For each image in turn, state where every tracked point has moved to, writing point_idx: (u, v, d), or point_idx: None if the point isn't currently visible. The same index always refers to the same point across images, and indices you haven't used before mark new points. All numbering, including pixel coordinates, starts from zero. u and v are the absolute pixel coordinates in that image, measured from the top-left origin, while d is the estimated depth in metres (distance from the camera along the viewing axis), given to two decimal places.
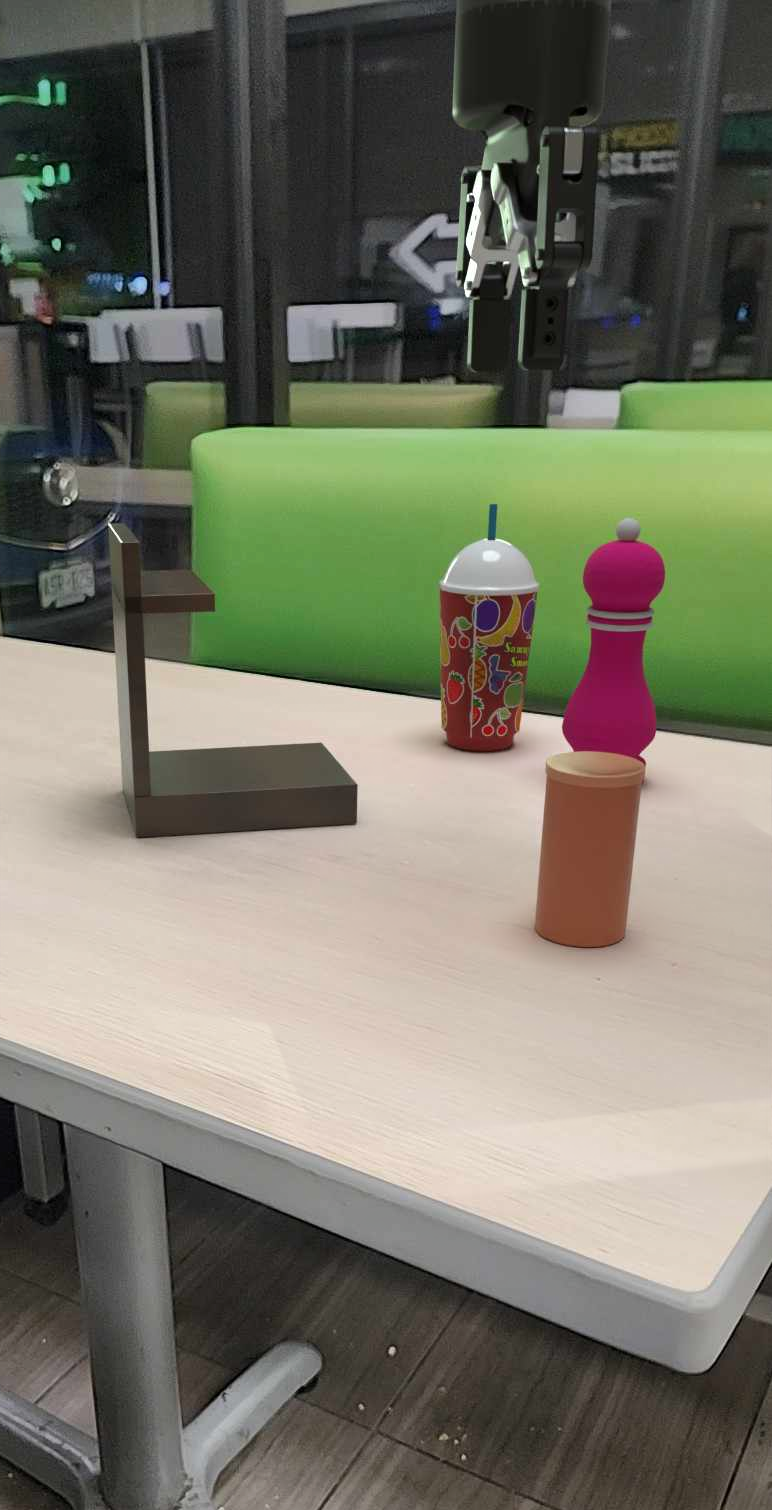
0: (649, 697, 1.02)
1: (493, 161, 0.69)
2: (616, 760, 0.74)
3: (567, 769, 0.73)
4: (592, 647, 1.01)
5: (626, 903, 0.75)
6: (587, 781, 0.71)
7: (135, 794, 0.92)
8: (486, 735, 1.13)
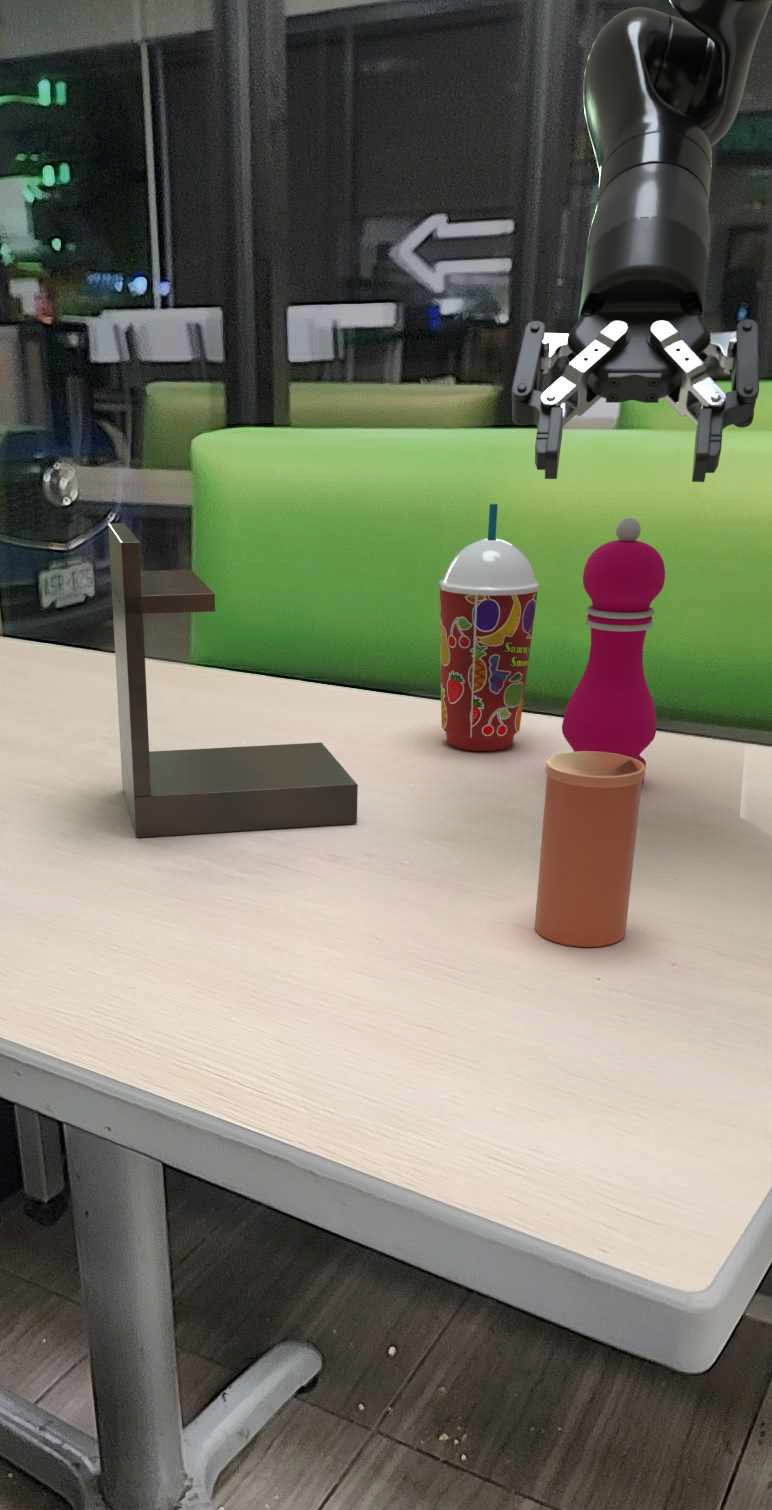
0: (649, 697, 1.02)
1: None
2: (616, 760, 0.74)
3: (567, 769, 0.73)
4: (592, 647, 1.01)
5: (626, 903, 0.75)
6: (587, 781, 0.71)
7: (135, 794, 0.92)
8: (486, 735, 1.13)
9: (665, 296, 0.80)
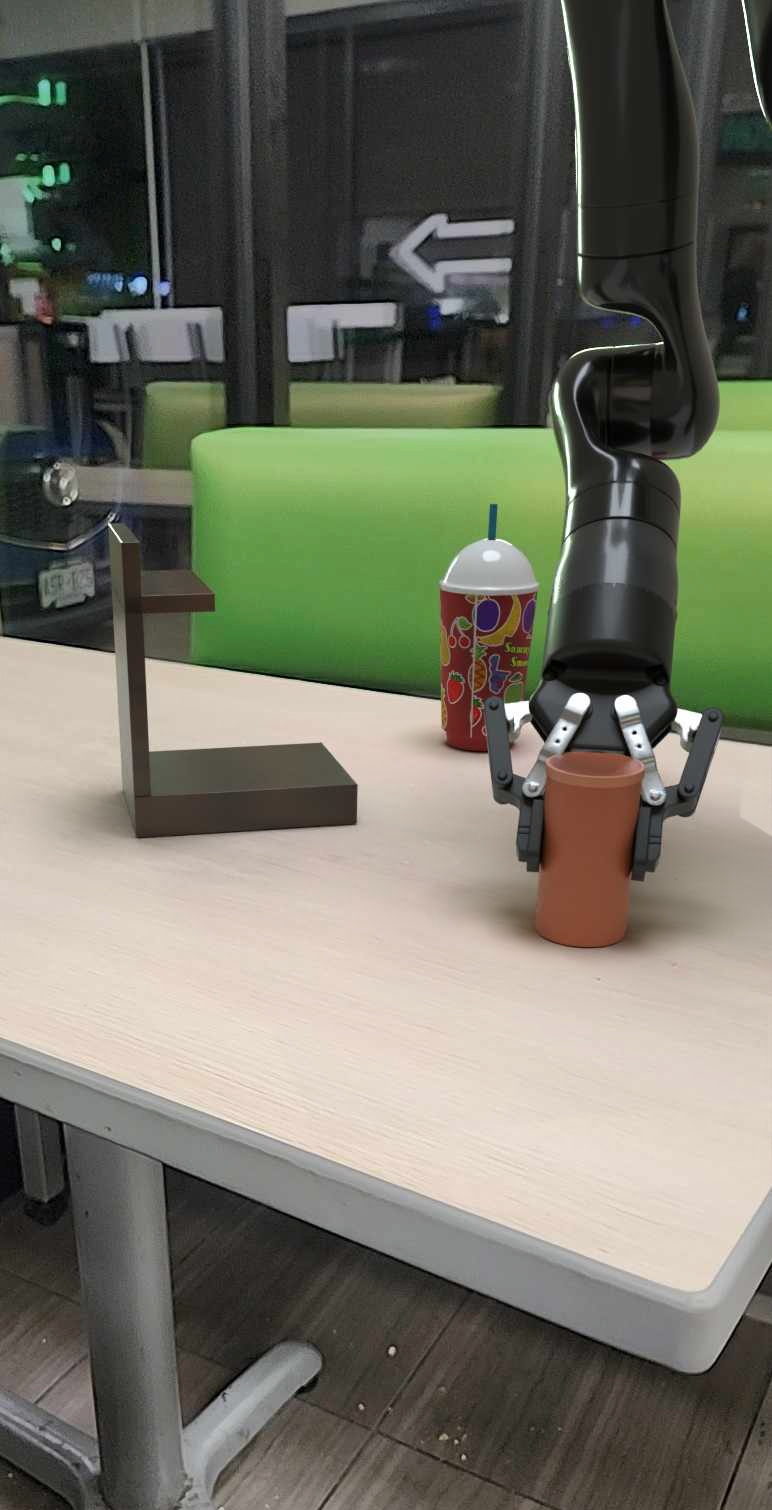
0: None
1: None
2: (616, 760, 0.74)
3: (567, 769, 0.73)
4: None
5: (626, 903, 0.75)
6: (586, 781, 0.71)
7: (135, 794, 0.92)
8: None
9: (630, 666, 0.76)
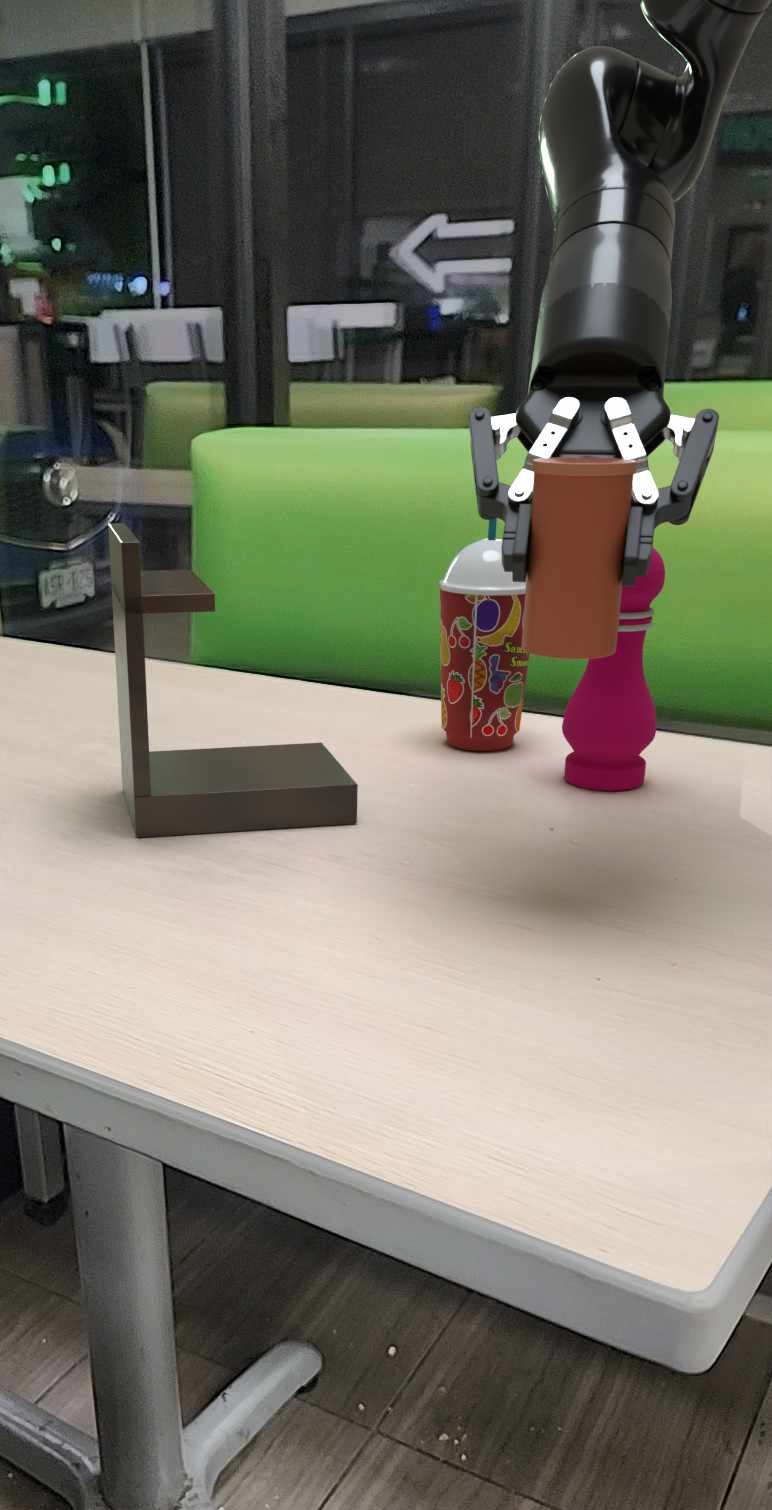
0: (649, 697, 1.02)
1: None
2: (606, 459, 0.71)
3: (555, 461, 0.69)
4: None
5: (616, 614, 0.72)
6: (575, 469, 0.68)
7: (135, 794, 0.92)
8: (486, 735, 1.13)
9: (621, 370, 0.73)
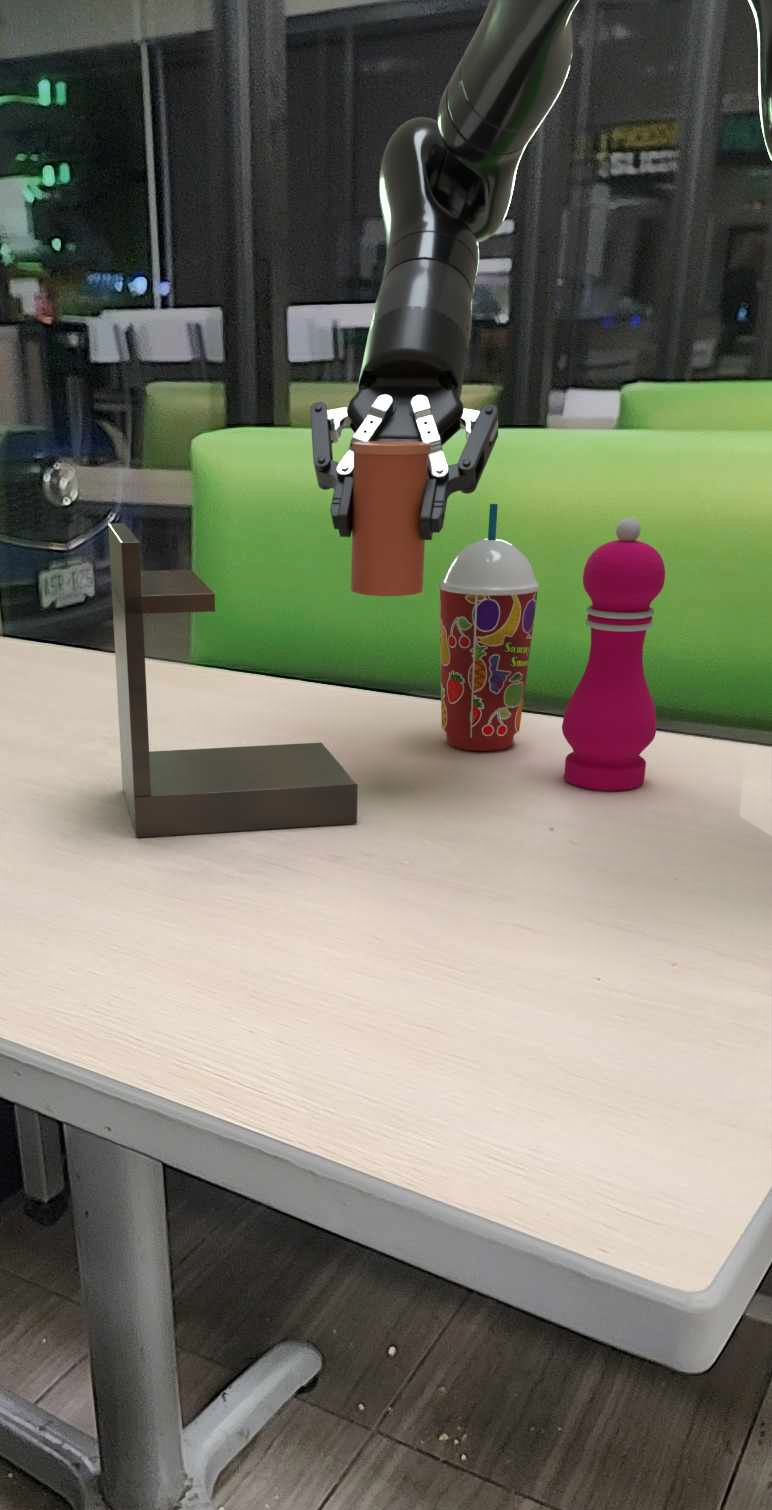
0: (649, 697, 1.02)
1: None
2: (409, 442, 0.93)
3: (367, 443, 0.91)
4: (592, 647, 1.01)
5: (419, 561, 0.94)
6: (379, 449, 0.90)
7: (135, 794, 0.92)
8: (486, 735, 1.13)
9: (425, 374, 0.95)
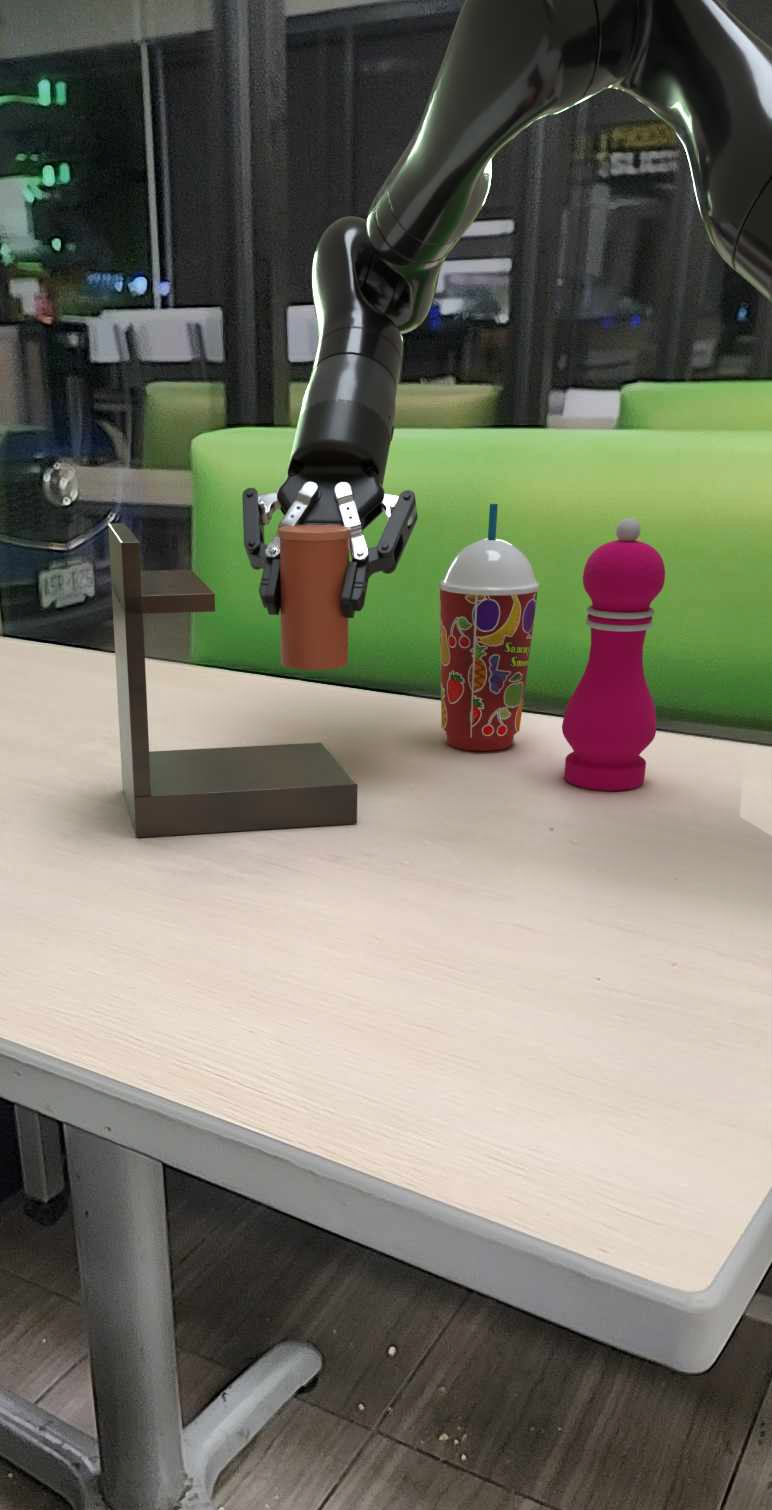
0: (649, 697, 1.02)
1: None
2: (332, 527, 0.99)
3: (291, 530, 0.98)
4: (592, 647, 1.01)
5: (343, 637, 1.00)
6: (301, 536, 0.96)
7: (135, 794, 0.92)
8: (486, 735, 1.13)
9: (348, 462, 1.01)
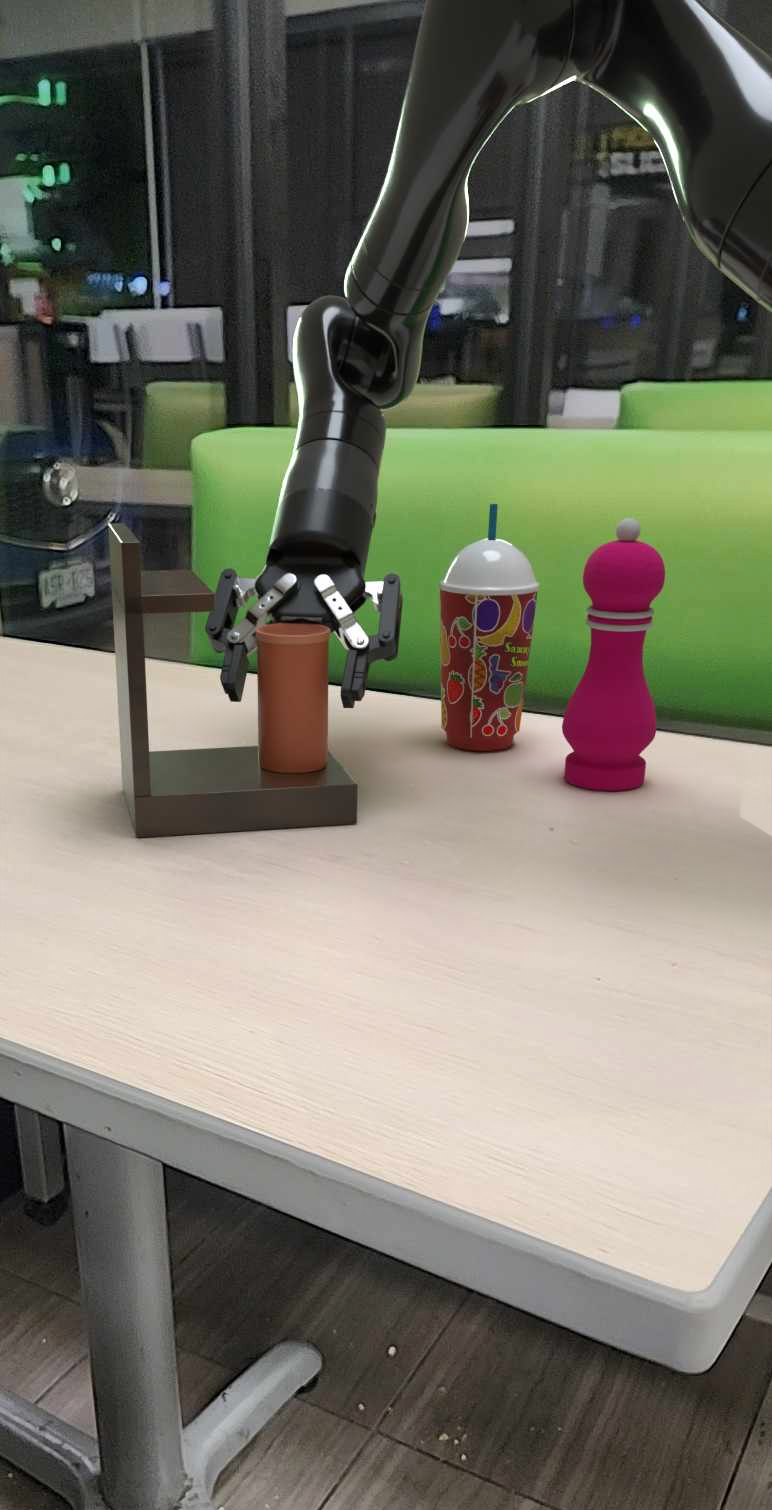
0: (649, 697, 1.02)
1: None
2: (311, 627, 0.96)
3: (268, 631, 0.95)
4: (592, 647, 1.01)
5: (322, 739, 0.97)
6: (279, 639, 0.93)
7: (135, 794, 0.92)
8: (486, 735, 1.13)
9: (329, 553, 0.98)
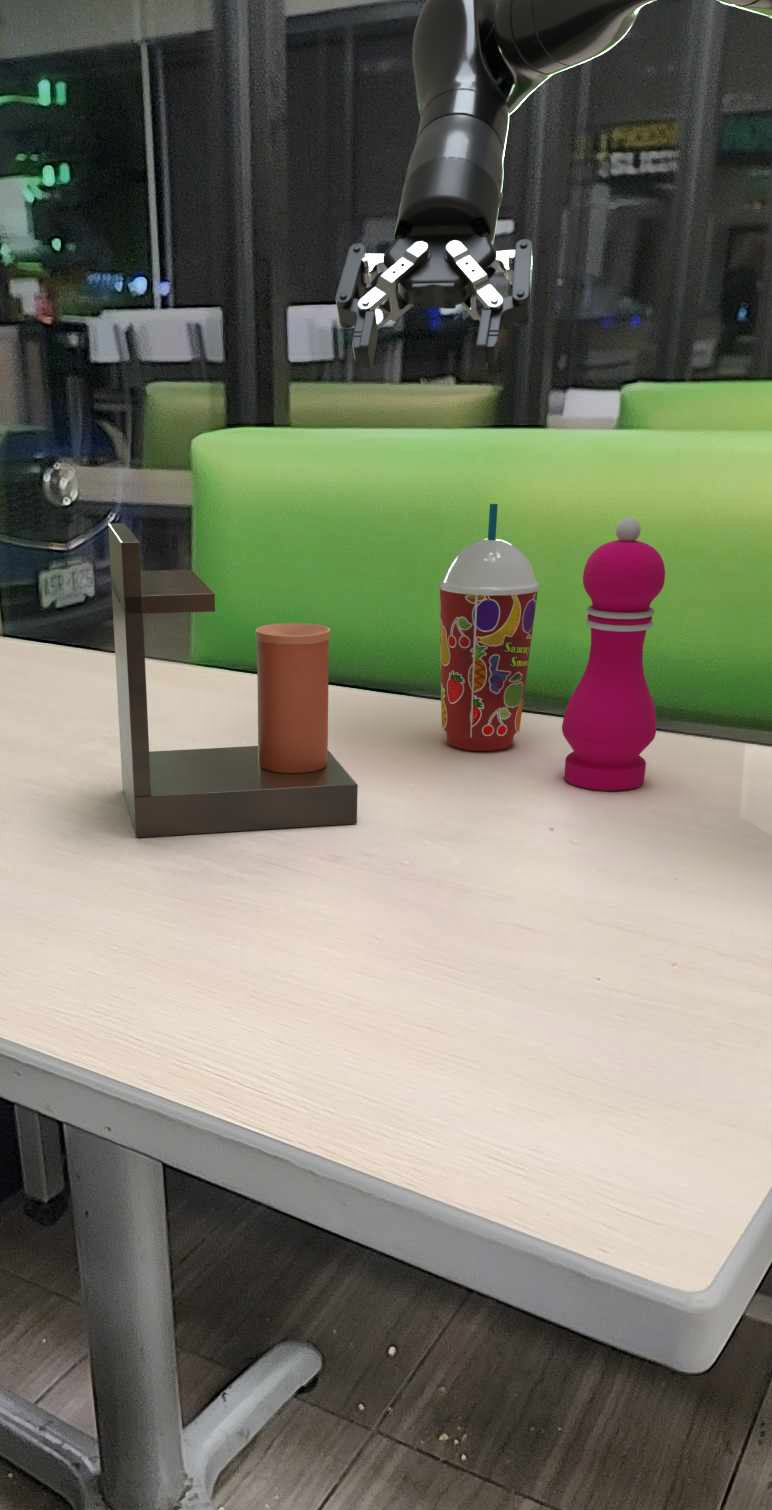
0: (649, 697, 1.02)
1: None
2: (311, 627, 0.96)
3: (268, 631, 0.95)
4: (592, 647, 1.01)
5: (322, 739, 0.97)
6: (279, 639, 0.93)
7: (135, 794, 0.92)
8: (486, 735, 1.13)
9: (459, 221, 0.98)
